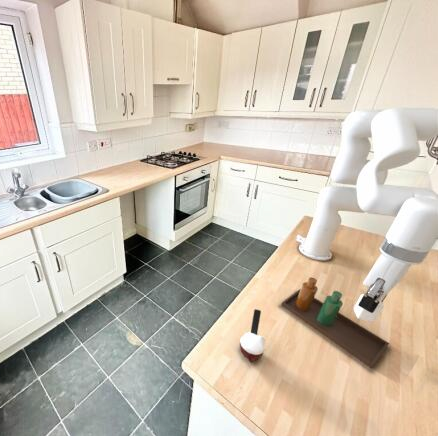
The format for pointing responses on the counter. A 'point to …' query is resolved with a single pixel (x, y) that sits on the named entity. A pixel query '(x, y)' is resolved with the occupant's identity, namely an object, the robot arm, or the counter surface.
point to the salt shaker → (366, 314)
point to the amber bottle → (306, 294)
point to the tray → (341, 332)
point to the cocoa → (253, 340)
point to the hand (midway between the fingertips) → (370, 303)
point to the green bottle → (330, 309)
